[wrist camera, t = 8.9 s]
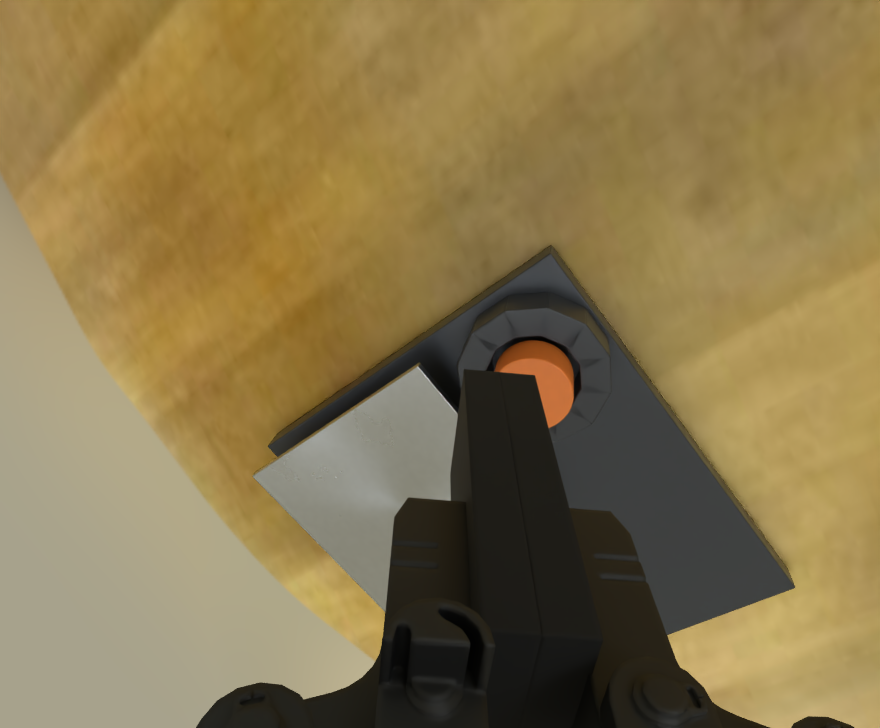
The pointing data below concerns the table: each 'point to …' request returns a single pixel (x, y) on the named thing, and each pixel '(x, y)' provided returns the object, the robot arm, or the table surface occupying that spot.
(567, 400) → the button
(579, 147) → the table surface
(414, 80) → the table surface
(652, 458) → the scale
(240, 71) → the table surface
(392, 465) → the plate
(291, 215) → the table surface
